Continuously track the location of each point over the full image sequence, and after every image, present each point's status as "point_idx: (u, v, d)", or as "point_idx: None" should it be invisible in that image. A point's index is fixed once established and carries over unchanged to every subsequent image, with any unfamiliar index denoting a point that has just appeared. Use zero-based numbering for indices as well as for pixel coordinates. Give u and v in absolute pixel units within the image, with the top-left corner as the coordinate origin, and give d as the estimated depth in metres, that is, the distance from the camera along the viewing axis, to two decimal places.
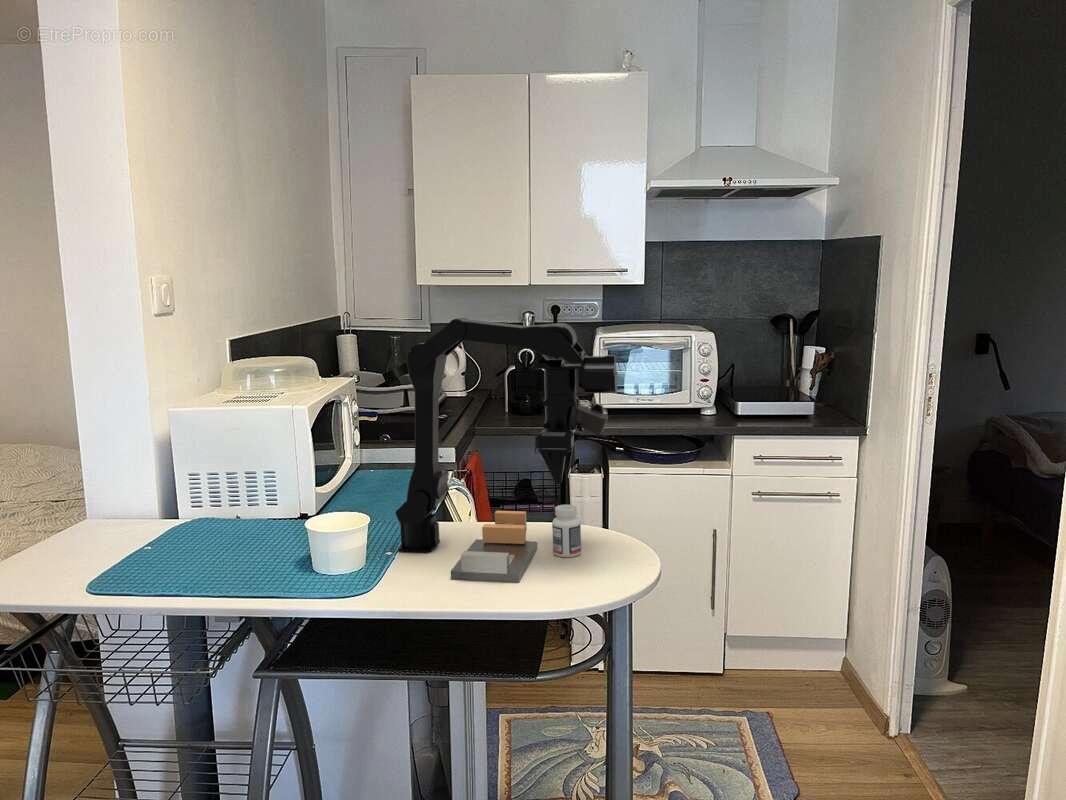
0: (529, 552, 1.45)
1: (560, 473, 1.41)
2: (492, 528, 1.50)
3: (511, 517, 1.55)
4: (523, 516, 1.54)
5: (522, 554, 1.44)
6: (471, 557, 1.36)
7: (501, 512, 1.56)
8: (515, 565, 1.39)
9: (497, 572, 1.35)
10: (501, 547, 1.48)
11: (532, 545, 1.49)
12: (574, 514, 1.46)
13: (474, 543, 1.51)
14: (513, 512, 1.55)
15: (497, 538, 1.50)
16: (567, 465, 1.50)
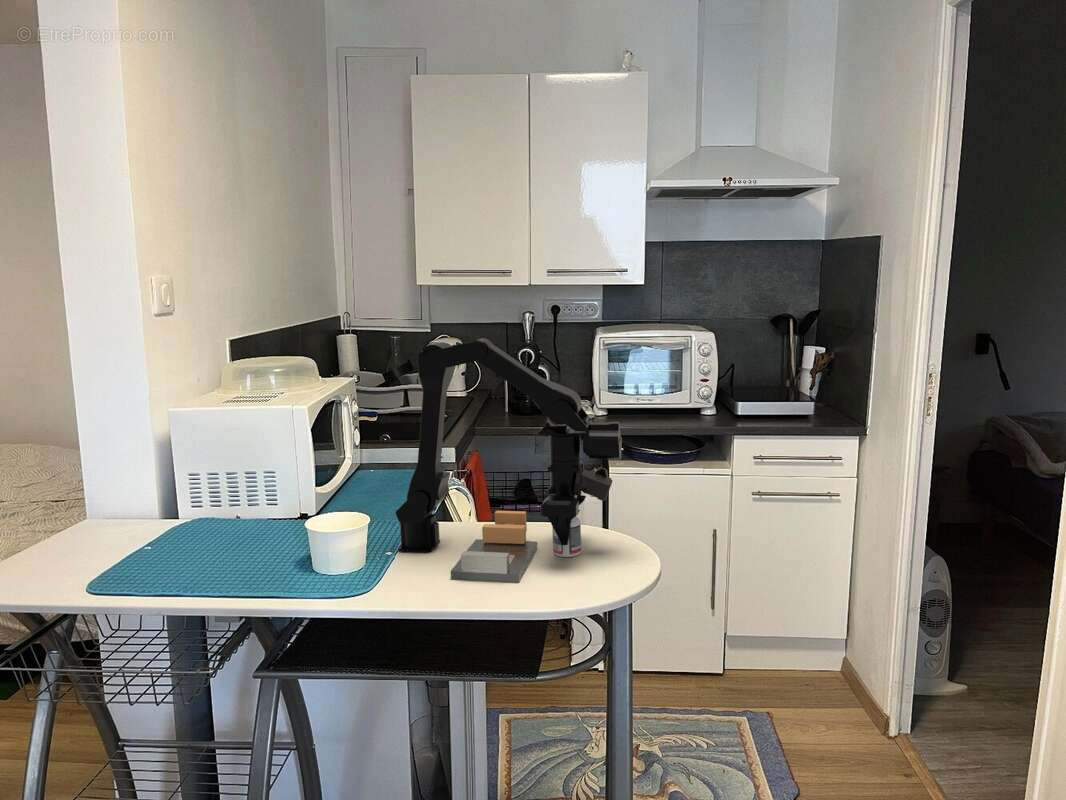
0: (529, 552, 1.45)
1: (566, 536, 1.44)
2: (492, 528, 1.50)
3: (511, 517, 1.55)
4: (523, 516, 1.54)
5: (522, 554, 1.44)
6: (471, 557, 1.36)
7: (501, 512, 1.56)
8: (515, 565, 1.39)
9: (497, 572, 1.35)
10: (501, 547, 1.48)
11: (532, 545, 1.49)
12: None
13: (474, 543, 1.51)
14: (513, 512, 1.55)
15: (497, 538, 1.50)
16: None
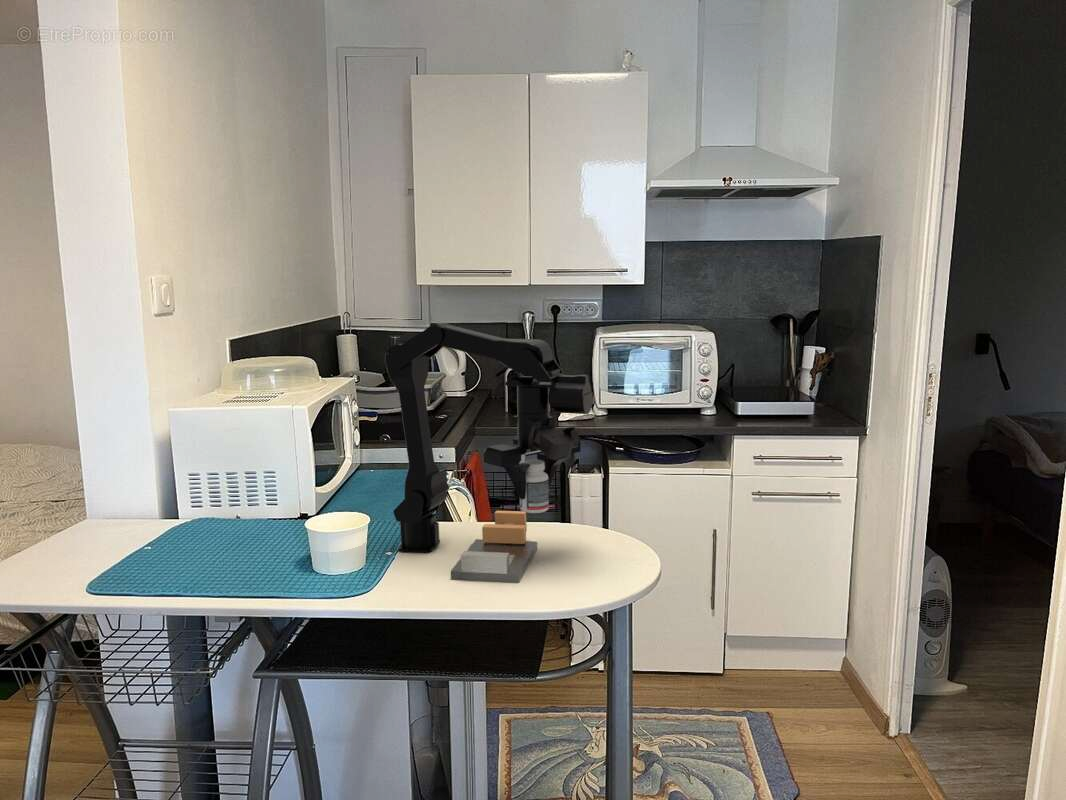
0: (529, 552, 1.45)
1: (520, 489, 1.41)
2: (492, 528, 1.50)
3: (511, 517, 1.55)
4: (523, 516, 1.54)
5: (522, 554, 1.44)
6: (471, 557, 1.36)
7: (501, 512, 1.56)
8: (515, 565, 1.39)
9: (497, 572, 1.35)
10: (501, 547, 1.48)
11: (532, 545, 1.49)
12: (536, 469, 1.41)
13: (474, 543, 1.51)
14: (513, 512, 1.55)
15: (497, 538, 1.50)
16: None
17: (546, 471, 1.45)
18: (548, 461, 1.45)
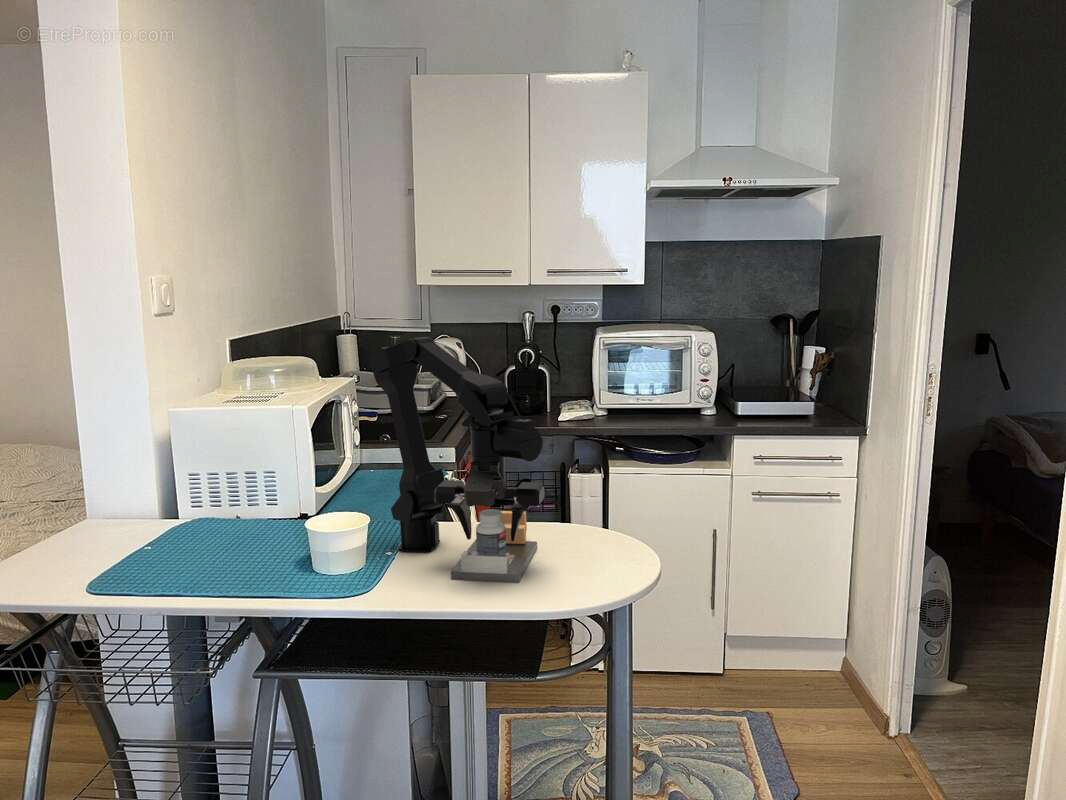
0: (529, 552, 1.45)
1: None
2: None
3: (511, 517, 1.55)
4: (523, 516, 1.54)
5: (522, 554, 1.44)
6: (471, 557, 1.36)
7: (501, 512, 1.56)
8: (515, 565, 1.39)
9: (497, 572, 1.35)
10: None
11: (532, 545, 1.49)
12: (482, 521, 1.38)
13: (474, 543, 1.51)
14: None
15: None
16: None
17: None
18: None
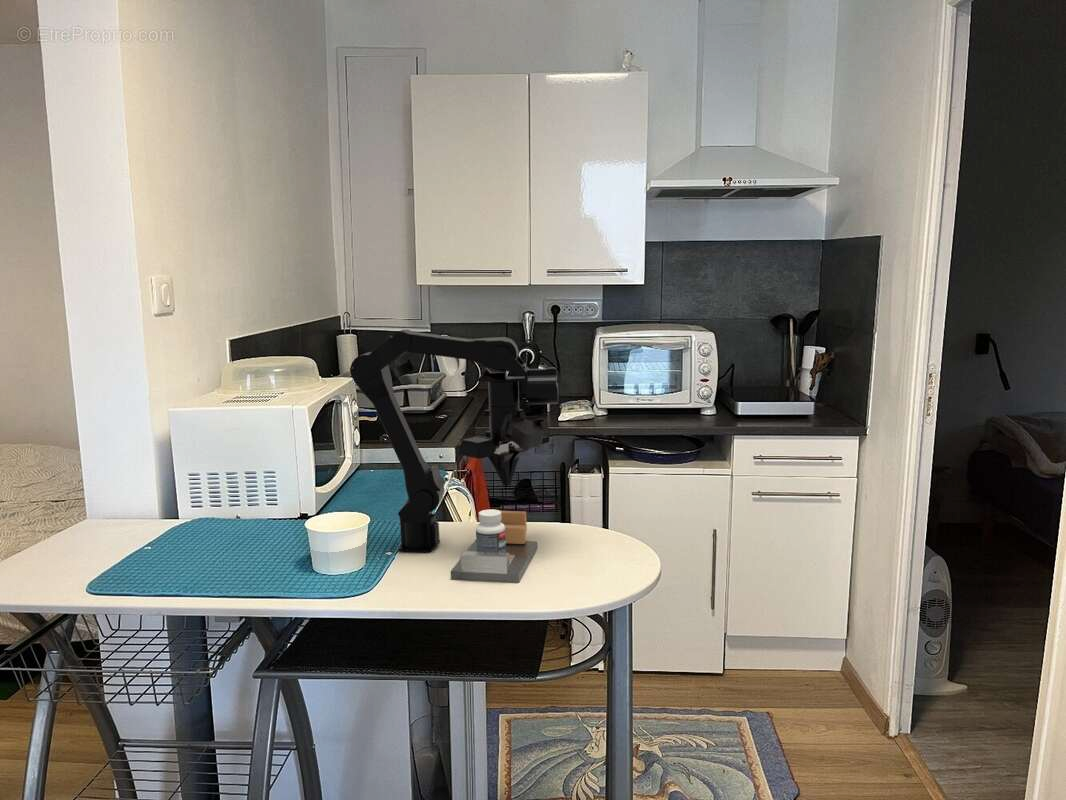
0: (529, 552, 1.45)
1: (504, 476, 1.50)
2: None
3: (511, 517, 1.55)
4: (523, 516, 1.54)
5: (522, 554, 1.44)
6: (471, 557, 1.36)
7: (501, 512, 1.56)
8: (515, 565, 1.39)
9: (497, 572, 1.35)
10: None
11: (532, 545, 1.49)
12: (482, 520, 1.38)
13: (474, 543, 1.51)
14: (513, 512, 1.55)
15: None
16: None
17: None
18: None
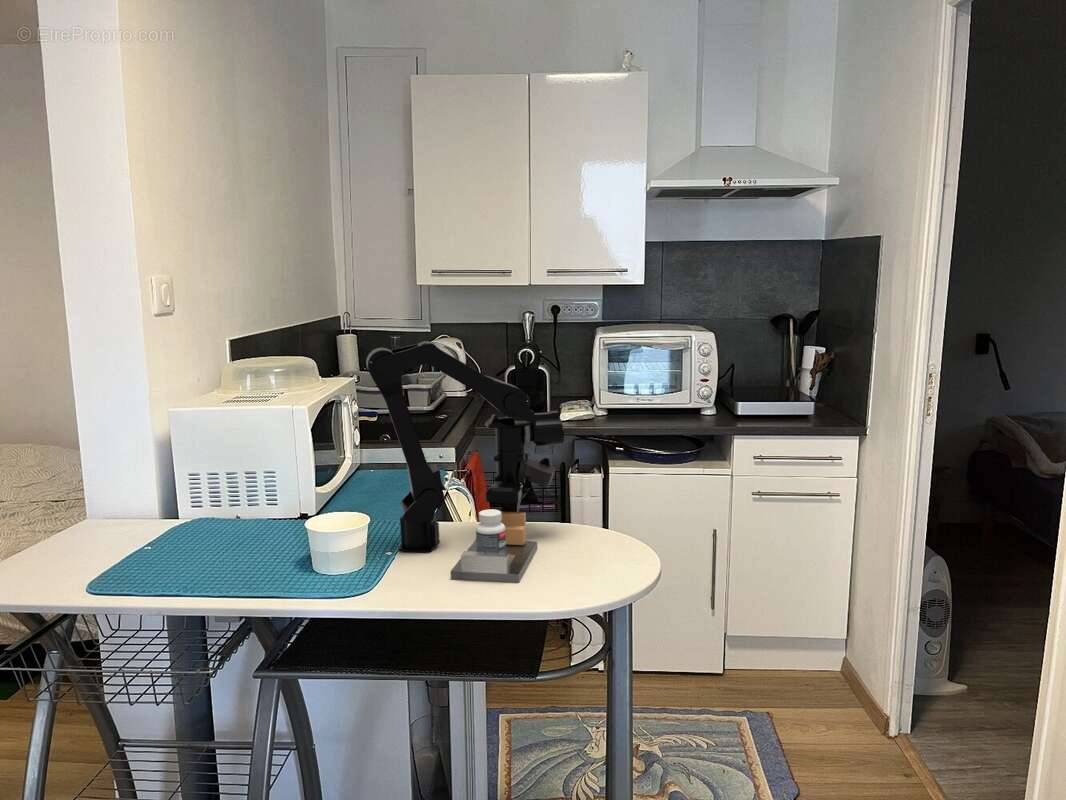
0: (529, 552, 1.45)
1: None
2: None
3: (510, 518, 1.54)
4: (522, 517, 1.54)
5: (522, 554, 1.44)
6: (471, 557, 1.36)
7: None
8: (515, 565, 1.39)
9: (497, 572, 1.35)
10: None
11: (532, 545, 1.49)
12: (482, 520, 1.38)
13: (474, 543, 1.51)
14: (513, 513, 1.55)
15: None
16: None
17: None
18: None
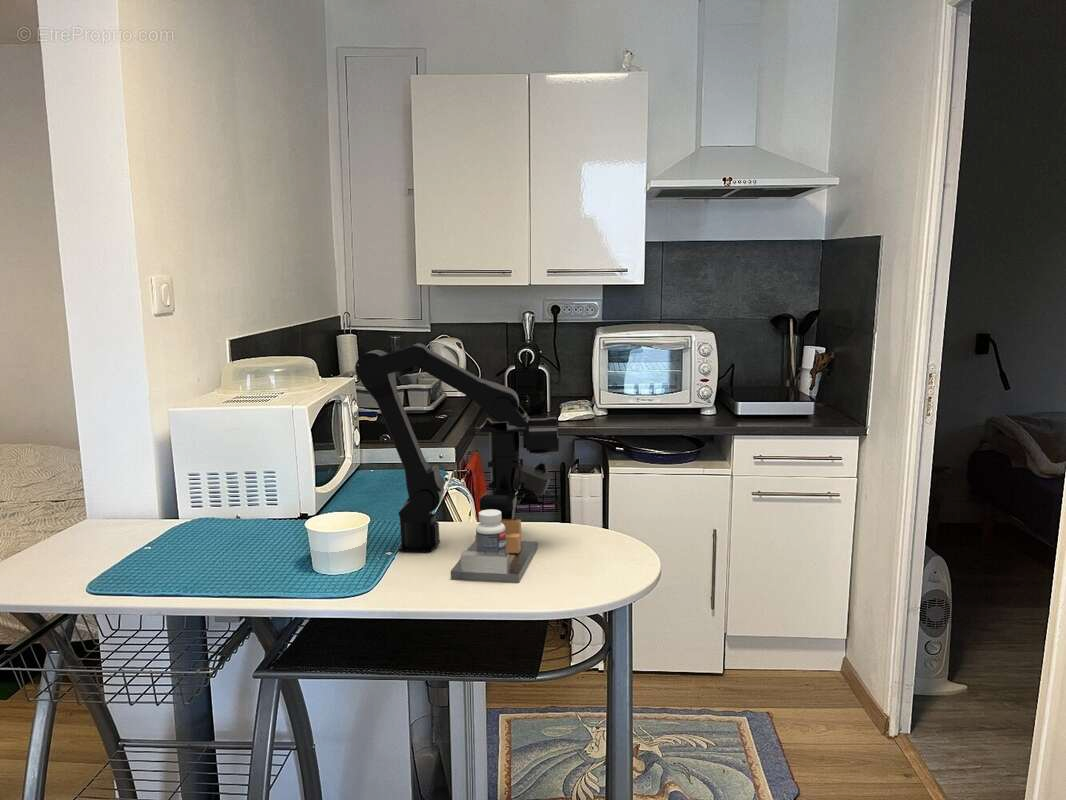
0: (529, 552, 1.45)
1: None
2: None
3: (505, 525, 1.50)
4: (518, 524, 1.49)
5: (522, 554, 1.44)
6: (471, 557, 1.36)
7: None
8: (515, 565, 1.39)
9: (497, 572, 1.35)
10: None
11: (532, 545, 1.49)
12: (482, 520, 1.38)
13: (474, 543, 1.51)
14: (508, 520, 1.50)
15: None
16: None
17: None
18: None
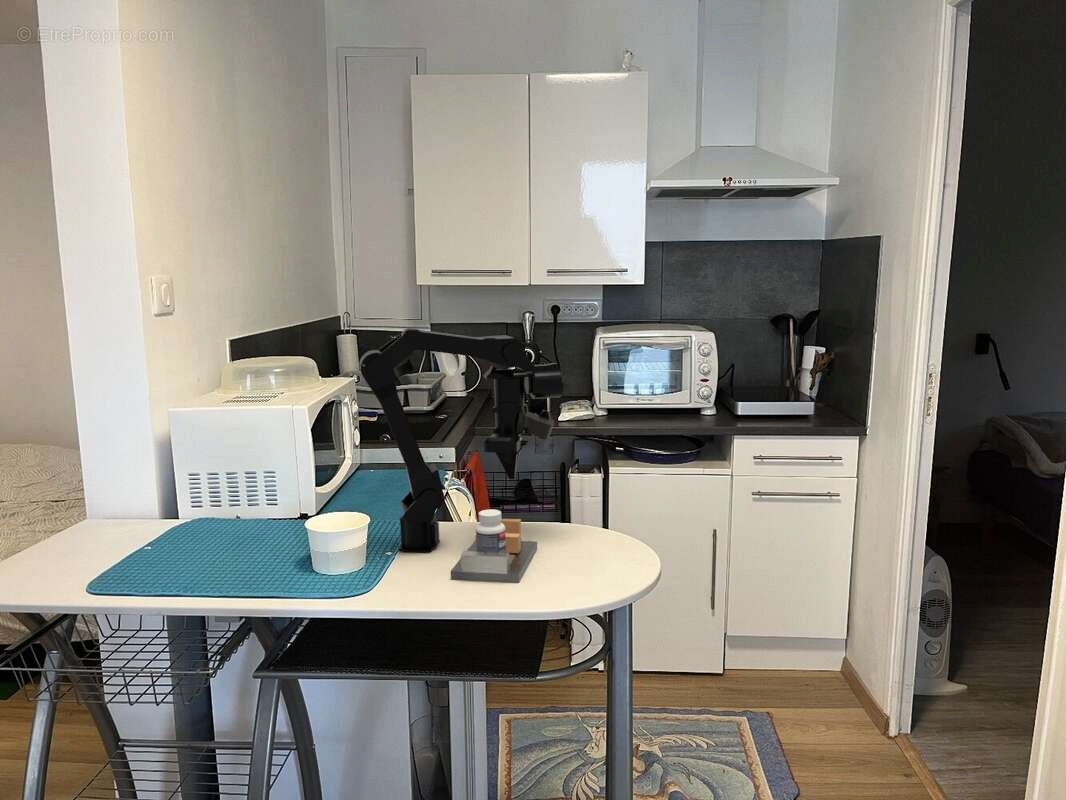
0: (529, 552, 1.45)
1: (513, 470, 1.55)
2: None
3: (505, 525, 1.50)
4: (518, 524, 1.49)
5: (522, 554, 1.44)
6: (471, 557, 1.36)
7: None
8: (515, 565, 1.39)
9: (497, 572, 1.35)
10: None
11: (532, 545, 1.49)
12: (482, 520, 1.38)
13: (474, 543, 1.51)
14: (508, 520, 1.51)
15: None
16: None
17: None
18: None
